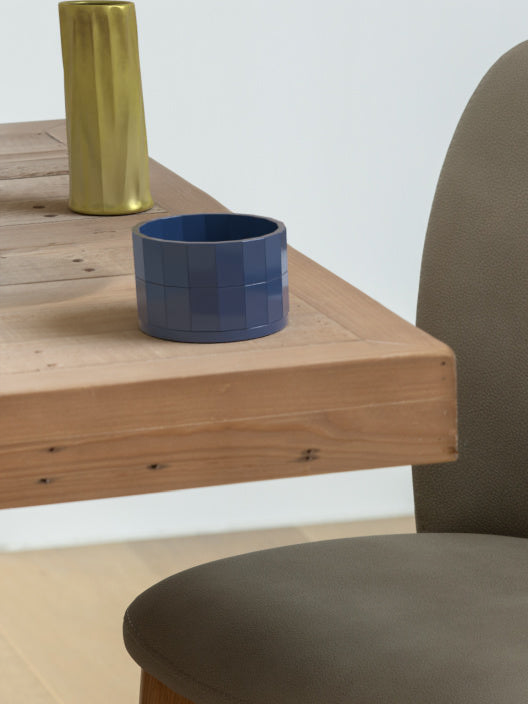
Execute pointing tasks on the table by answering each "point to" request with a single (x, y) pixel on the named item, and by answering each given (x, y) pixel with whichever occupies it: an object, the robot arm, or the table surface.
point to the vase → (104, 108)
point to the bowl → (211, 276)
